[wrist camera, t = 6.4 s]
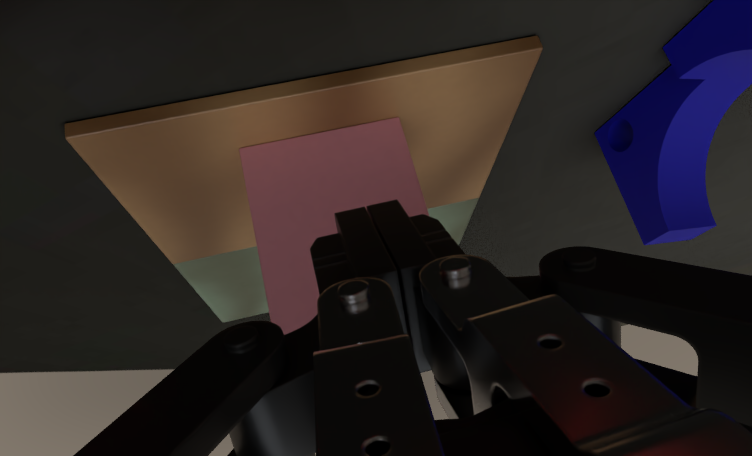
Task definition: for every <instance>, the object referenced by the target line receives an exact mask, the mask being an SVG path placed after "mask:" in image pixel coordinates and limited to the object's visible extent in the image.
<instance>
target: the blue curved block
mask: <svg viewBox="0 0 752 456" xmlns="http://www.w3.org/2000/svg"><path fill="white" fill-rule="evenodd" d="M663 50H664V51H665V53H666V55H667V57H668V59H669V61H670V63H671V66H670V67H669V68H668V69H666V70H665V71H664V72H663V73H662V74H661V75H660V76H659V77H657V78H656V79H655V80H654V81H653V82H652V83H651V84H649V85H648V86H647V87H646V88H645V89H644V90H643V91H642V92H640V93H639V94H638V95H637V96H636V97H635V98H634V99H632V100H631V101H630V102H629V103H628V104H627V105H626V106H625V107H623V108H622V109H621V110H620V111H619V112H618V113H617V114H615V115H614V116H613V117H612V118H611V119H610V120H609V121H608V122H606V123H605V124H604V125H603V126H602V127H601V128H600V129H598V130H597V131H596V132H595V133H594V134H595V136H596V138H597V140H598V143H599V145H600V147H601V149H602V151H603V154H604V156H605V158H606V160H607V163H608V165H609V167H610V169H611V172H612V174H613V176H614V178H615V181H616V183H617V185H618V187H619V190H620V192H621V194H622V196H623V199H624V201H625V203H626V205H627V208H628V210H629V212H630V214H631V217H632V219H633V221H634V223H635V226H636V228H637V230H638V232H639V235H640V237H641V239H642V241H643V243H644V245H650V244H659V243H667V242H675V241H683V240H691V239H693V238H694V237H696V236H698V235H700V234H702V233H704V232H706V231H707V230H709V229H711V228H713V227H715V226H717V225H716V223H715V221H714V219H713V216H712V213H711V210H710V207H709V204H708V199H707V194H706V186H705V169H706V160H707V154H708V150H709V146H710V143H711V140H712V137H713V135H714V132H715V130H716V128H717V126H718V124H719V122H720V120H721V118H722V117H723V115H724V114H725V112H726V111H727V109H728V108H729V107H730V105H731V104H732V103H733V101H734V100H735V99H736V98H737V97H738V96H739V95H740V94H741V93H742V92H743V91H744V90H745V89H746V88H747V87H749V86H750V85H751V84H752V0H714V1H712V2H711V3H710V4H709V5H708V6H707V7H706V8H705V9H704V10H703V11H702V12H701V13H700V14H698V15H697V16H696V17H695V18H694V19H693V20H692V21H691V22H690V23H689V24H688V25H687V26H686V27H684V28H683V29H682V30H681V31H680V32H679V33H678V34H677V35H676V36H675V37H674V38H673V39H672V40H670V41H669V42H668V43H667V44H666V45H665V46H664V47H663Z"/></svg>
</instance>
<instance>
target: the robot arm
mask: <svg viewBox="0 0 752 456" xmlns="http://www.w3.org/2000/svg"><path fill="white" fill-rule="evenodd" d="M334 216H335V222H336V227H337V232H338V233H336V234H331V235H327V236H322V237H318V238H316V240H315V241H314V243H313V244H312V246H311V248H310V253H311V257H312V262H313V267H314V271H315V276H316V281H317V285H318V290H319V295H320V296H319V298H318V301H317V310H318V313H317V315H316V316H315V317H314V318H313V319H312V320H311V321H310V322H308V323H307V324H305V325H304V326H302V327H301V328H298V329H296V330H294V331H292V332H290V333H288V334H285V335H284V334H283V331H282V329H281V327H280V326H278V325H277V324H275V323H272V322H268V321H250V322H245V323H241V324H237V325H234V326H232V327H229V328H227V329H225V330H223V331H221V332H220V333H218V334H217V335H215V336H214V337H213V338H211V339H210V340H209V341H208V342H207V343H205V344H204V345H203V346H202V347H201V348H200V349H198V350H197V351H196V352H195V353H194V354H192V355H191V356H190V357H189V358H188V359H187V360H185V361H184V362H183V363H182V364H181V365H180V366H178V367H177V368H176V369H175V370H174V371H172V372H171V373H170V374H169V375H168V376H167V377H165V378H164V379H163V380H162V381H161V382H160V383H158V384H157V385H156V386H155V387H154V388H153V389H151V390H150V391H149V392H148V393H147V394H145V395H144V396H143V397H142V398H141V399H139V400H138V401H137V402H136V403H135V404H134V405H132V406H131V407H130V408H129V409H128V410H127V411H125V412H124V413H123V414H122V415H121V416H120V417H118V418H117V419H116V420H115V421H114V422H112V424H110V425H109V426H108V427H106V428H105V429H104V430H103V431H102V432H101V433H99V434H98V435H97V436H96V437H95V438H94V439H92V440H91V441H90V442H89V443H88V444H86V445H85V446H84V447H83V448H82V449H81V450H80V451H78V452H77V453H76V454H75V455H74V456H208V455H209V454H210V453H211V451H213V450H214V449H215V448H216V446H217V445H218V444H219V443H220V442H221V441H222V440H223V439H224V438H225V437H226V436H227V435H228V434H230V437H231V440H232V443H233V447H234V449H233V450H232V451H231V452H230V453H229V454H228V456H315V452H316V456H752V276H750V275H744V274H739V273H733V272H728V271H722V270H717V269H711V268H705V267H700V266H694V265H689V264H683V263H677V262H672V261H666V260H661V259H655V258H650V257H644V256H638V255H633V254H627V253H622V252H616V251H610V250H605V249H599V248H593V247H567V248H562V249H558V250H555V251H552V252H550V253H548V254H547V255H545V256H544V257H543V258H542V259H541V261H540V263H539V271H540V276H524V277H505V276H504V275H503V274H502V273H501V272H500V271H499V270H498V269H497V268H496V267H495V266H493V265H492V264H491V263H490V262H489V261H488V260H486V259H484V258H481V257H478V256H473V255H466V254H465V253H464V252H463V251H462V249H461V248H460V247H459V245H458V244H457V243H456V242H455V240H454V239H453V238H451V235H450V234H449V233H448V231H446V229H445V228H444V226H443V225H442V224H441V223H440V221H439V220H438V219H435V218H433V217H430V216H428V215H425V214H420V215H416V216H411V217H409V216H408V214H407V213H406V211H405V210H404V208H403V207H402V206H401V204H400V203H399V201H398V200H397V199H396V200H391V201H387V202H382V203H377V204H373V205H368V206H367V210H366V208H365V207H360V208H355V209H351V210H346V211H341V212H337V213H334ZM621 322H622V323H626V324H631V325H635V326H638V327H642V328H646V329H650V330H654V331H658V332H662V333H666V334H670V335H674V336H677V337H679V338H682V339H683V340H685V341H687V342H688V343H689V344H690V345H691V346H692V347H693V348H694V350H695V351H696V353H697V355H698V377H697V376H693V375H690V374H686V373H683V372H680V371H676V370H673V369H669V368H665V367H662V366H658V365H655V364H652V363H648V362H645V361H641V360H638V359H634V358H632V357H631V356H630V355H629V354H628V353H626V352H625V351H624V350H623V349H622V348H621ZM430 370H432V372H433V374H434V379H435V386H436V392H437V398H438V400H439V402H440V404H441V405H442V407H443V409H444V411H445V412H446V414H447V416H448V417H449V419H444V420H434V417H433V415H432V411H431V407H430V404H429V401H428V397H427V394H426V390H425V387H424V384H423V381H422V377H421V374H420V373H422V372H425V371H430Z"/></svg>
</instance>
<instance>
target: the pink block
mask: <svg viewBox="0 0 752 456" xmlns="http://www.w3.org/2000/svg"><path fill="white" fill-rule="evenodd" d="M239 153H240V158H241V164H242V169H243V174H244V180H245V185H246V191H247V196H248V201H249V207H250V212H251V217H252V223H253V228H254V234H255V239H256V244H257V250H258V255H259V260H260V266H261V271H262V277H263V282H264V287H265V293H266V298H267V303H268V309H269V314H270V319H271V322H272V323H275V324H277V325H278V326H280V327H281V329H282V331H283V334H284V335H285V334H288V333H290V332H292V331H294V330H296V329H298V328H301V327H302V326H304V325H305V324H307V323H308V322H310V321H311V320H312V319H313V318H314V317H315V316H316V315H317V313H318V310H317V301H318V298H319V296H320V295H319V290H318V285H317V281H316V276H315V271H314V267H313V262H312V257H311V253H310V248H311V246H312V244H313V243H314V241H315V240H316V238H318V237H322V236H327V235H331V234H336V233H338V232H337V227H336V222H335V216H334V213H337V212H341V211H346V210H351V209H355V208H360V207H365V208H366V210H367V206H368V205H373V204H377V203H382V202H387V201H391V200H396V199H397V200H398V201H399V203H400V204H401V206H402V207H403V208H404V210H405V211H406V213H407V214H408V216H409V217H411V216H416V215H420V214H425V215H428V216H429V213H428V210H427V206H426V203H425V200H424V197H423V193H422V190H421V187H420V184H419V180H418V177H417V174H416V171H415V167H414V164H413V161H412V158H411V154H410V151H409V148H408V145H407V141H406V138H405V135H404V132H403V128H402V125H401V122H400V119H399V117H395V118H390V119H385V120H380V121H375V122H370V123H365V124H360V125H355V126H350V127H345V128H340V129H335V130H330V131H325V132H320V133H315V134H310V135H305V136H299V137H294V138H289V139H284V140H279V141H274V142H269V143H264V144H259V145H254V146H249V147H244V148H240V149H239Z"/></svg>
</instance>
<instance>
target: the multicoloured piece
mask: <svg viewBox="0 0 752 456" xmlns="http://www.w3.org/2000/svg"><path fill="white" fill-rule="evenodd" d="M542 49H543V46H542V44H541V42H540V39H539V37H538V36H531V37H526V38H520V39H515V40H510V41H504V42H499V43H494V44H488V45H483V46H478V47H472V48H467V49H462V50H456V51H451V52H445V53H440V54H435V55H429V56H424V57H419V58H413V59H408V60H403V61H397V62H392V63H387V64H381V65H376V66H371V67H365V68H360V69H354V70H349V71H344V72H338V73H333V74H328V75H322V76H317V77H312V78H306V79H301V80H296V81H290V82H285V83H279V84H274V85H269V86H263V87H258V88H253V89H247V90H242V91H237V92H231V93H226V94H221V95H215V96H210V97H205V98H199V99H194V100H188V101H183V102H178V103H172V104H167V105H162V106H156V107H151V108H146V109H140V110H135V111H130V112H124V113H119V114H114V115H108V116H103V117H97V118H92V119H87V120H81V121H76V122H71V123H66V124H65V138H66V140H67V141H68V142H69V143H70V144H71V146H72V147H73V148H74V149H75V150H76V151H77V153H78V154H79V155H80V156H81V157H82V158H83V160H84V161H85V162H86V163H87V164H88V166H89V167H90V168H91V169H92V170H93V171H94V173H95V174H96V175H97V176H98V177H99V178H100V180H101V181H102V182H103V183H104V184H105V185H106V187H107V188H108V189H109V190H110V191H111V192H112V194H113V195H114V196H115V197H116V198H117V199H118V201H119V202H120V203H121V204H122V205H123V206H124V208H125V209H126V210H127V211H128V212H129V213H130V215H131V216H132V217H133V218H134V219H135V220H136V222H137V223H138V224H139V225H140V226H141V227H142V229H143V230H144V231H145V232H146V233H147V235H148V236H149V237H150V238H151V239H152V240H153V242H154V243H155V244H156V245H157V246H158V247H159V249H160V250H161V251H162V252H163V253H164V254H165V256H166V257H167V258H168V259H169V260H170V261H171V263H172V264H173V265H174V266H175V267H176V268H177V270H178V271H179V272H180V273H181V274H182V275H183V277H184V278H185V279H186V280H187V281H188V282H189V284H190V285H191V286H192V287H193V288H194V289H195V291H196V292H197V293H198V294H199V295H200V296H201V298H202V299H203V300H204V301H205V302H206V304H207V305H208V306H209V307H210V308H211V309H212V311H213V312H214V313H215V314H216V315H217V316H218V318H219V319H220V320H221V321H222V322H223V323H224V322H228V321H232V320H237V319H241V318H245V317H250V316H254V315H258V314H263V313H267V312H269V309H268V303H267V298H266V293H265V287H264V282H263V277H262V271H261V266H260V260H259V255H258V250H257V244H256V239H255V234H254V228H253V223H252V217H251V212H250V207H249V201H248V196H247V191H246V185H245V180H244V174H243V169H242V164H241V158H240V153H239V149H240V148H244V147H249V146H254V145H259V144H264V143H269V142H274V141H279V140H284V139H289V138H294V137H299V136H305V135H310V134H315V133H320V132H325V131H330V130H335V129H340V128H345V127H350V126H355V125H360V124H365V123H370V122H375V121H380V120H385V119H390V118H395V117H399V119H400V122H401V125H402V128H403V132H404V135H405V138H406V141H407V145H408V148H409V151H410V154H411V158H412V161H413V164H414V167H415V171H416V174H417V177H418V180H419V184H420V187H421V190H422V193H423V197H424V200H425V203H426V206H427V210H428V213H429V216H430V217H433V218H435V219H438V220H439V221H440V223H441V224H442V225H443V226H444V228H445V229H446V231H448V233H449V234H450V235H451V238H453V239H454V240H455V242H456V243H457V244H458V245H459V243H460V241H461V239H462V236H463V234H464V232H465V229H466V227H467V225H468V222H469V220H470V218H471V215H472V213H473V211H474V208H475V206H476V204H477V201H478V199H479V197H480V194H481V192H482V190H483V187H484V185H485V183H486V180H487V178H488V176H489V173H490V171H491V169H492V166H493V164H494V162H495V159H496V157H497V155H498V152H499V150H500V148H501V145H502V143H503V141H504V138H505V136H506V134H507V131H508V129H509V127H510V124H511V122H512V120H513V117H514V115H515V113H516V110H517V108H518V106H519V103H520V101H521V99H522V96H523V94H524V92H525V89H526V87H527V85H528V82H529V80H530V78H531V75H532V73H533V70H534V68H535V66H536V63H537V61H538V59H539V56H540V54H541V52H542Z"/></svg>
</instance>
